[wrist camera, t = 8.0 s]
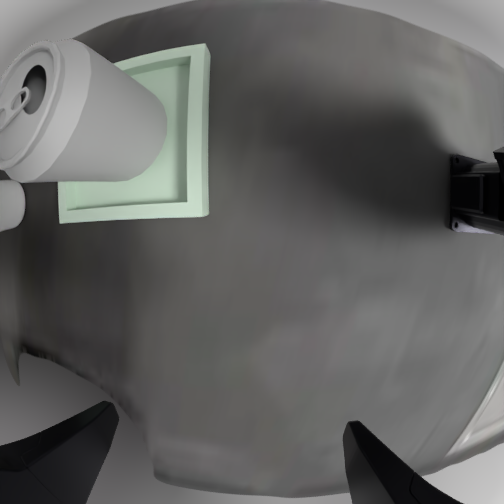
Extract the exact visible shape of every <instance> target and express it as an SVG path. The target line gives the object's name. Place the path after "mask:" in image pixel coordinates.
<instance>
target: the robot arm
mask: <svg viewBox="0 0 504 504" xmlns="http://www.w3.org/2000/svg"><path fill="white" fill-rule="evenodd" d="M493 153H494V157H495V159H497V162H496V163H486V162H483V161H479V160H476V159H472V158H468V157H464V156H461V155H452V156H451V159H450V161H451V210H450V229H451V230H453V231H458V232H474V233H488V234H494V233H497V234H500V235H504V147H502V148H500V149H498V150H495V151H493ZM455 158H456V161H457V162H455ZM455 223H456V226H455V227H454V224H455ZM118 422H119V416H118V413H117V411H116V409H115V406H114V404H113V403H111V402H107V401H102V402H100V403H98V404H96V405H94V406H92V407H91V408H89V409H87V410H85V411H83V412H81V413H79V414H77V415H75V416H73V417H71V418H69V419H67V420H64V421H62V422H60V423H59V424H56V425H54V426H52V427H50V428H48V429H46V430H43V431H41V432H39V433H37V434H34V435H32V436H30V437H27V438H24V439H21V440H18V441H15V442H12V443H9V444H5V445H1V446H0V504H86V502H87V500H88V497H89V495H90V493H91V490H92V488H93V485H94V483H95V481H96V479H97V476H98V474H99V472H100V469H101V467H102V465H103V463H104V460H105V458H106V456H107V454H108V452H109V449H110V447H111V444H112V440H113V437H114V434H115V431H116V428H117V425H118ZM343 446H344V457H345V469H346V476H347V480H348V485H349V490H350V494H351V499H352V504H463V503H460V502H459V501H457V500H455V499H453V498H452V497H450V496H448V495H447V494H445V493H443V492H442V491H440V490H438V489H437V488H435V487H434V486H432V485H431V484H429V483H428V482H427V481H426V480H424V479H423V478H422V477H421V476H420V475H418V474H417V473H416V472H414V470H412V469H411V468H410V467H409V466H408V465H407V464H406V463H404V462H403V461H402V460H401V459H400V458H399V457H398V456H397V455H396V454H394V453H393V452H392V451H391V450H390V449H389V448H388V447H387V446H386V445H385V444H383V443H382V442H381V441H380V440H379V439H378V438H377V437H376V436H375V435H374V434H373V433H372V432H371V431H369V430H368V429H367V428H366V427H365V426H364V425H363V424H362V423H361V422H360V421H349V422H348V423H347V425H346V428H345V431H344V434H343Z"/></svg>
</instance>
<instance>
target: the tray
mask: <svg viewBox="0 0 504 504" xmlns="http://www.w3.org/2000/svg"><path fill="white" fill-rule="evenodd" d="M210 60H211V54H210V52H209V50H208V48H207V46H206V44H205V43H204V44H197V45H190V46H184V47H178V48H173V49H168V50H163V51H158V52H154V53H150V54H146V55H142V56H138V57H134V58H131V59H127V60H124V61H120V62H117V63H114V65H115V66H117V67H118V68H119V69H121V70H122V71H124V72H125V73H126V74H128V75H129V76H130V77H132V78H133V79H135V80H136V81H137V82H139V83H140V84H141V85H143V86H144V87H145V88H147V89H148V90H149V91H151V92H152V93H153V94H154V95H156V96H157V98H158V99H159V100H160V102H161V103H162V104H163V106H164V109H165V113H166V116H167V135H166V138H165V141H164V144H163V147H162V150H161V151H160V153H159V154H158V156H157V157H156V159H155V161H154V162H153V164H152V165H151V166H149V167H148V168H147V169H146V170H145V171H144V172H143V173H142V174H140V175H138V176H136V177H134V178H132V179H130V180H127V181H118V182H96V181H69V182H58V203H59V221H60V224H61V223H74V222H89V221H106V220H125V219H148V218H177V217H203V216H206V215H209V193H208V123H209V84H210Z"/></svg>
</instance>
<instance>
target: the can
mask: <svg viewBox="0 0 504 504" xmlns="http://www.w3.org/2000/svg"><path fill="white" fill-rule="evenodd" d="M166 135H167V116H166V113H165V109H164V106H163V104H162V103H161V102H160V100H159V99H158V98H157V96H156V95H154V94H153V93H152V92H151V91H149V90H148V89H147V88H145V87H144V86H143V85H141V84H140V83H139V82H137V81H136V80H135V79H133V78H132V77H130V76H129V75H128V74H126V73H125V72H124V71H122V70H121V69H119V68H118V67H117V66H115V65H114V64H112V63H111V62H110V61H108V60H107V59H105V58H104V57H102V56H101V55H100V54H98V53H97V52H95V51H94V50H92V49H91V48H89V47H88V46H86V45H85V44H83V43H81V42H78V41H76V40H73V39H67V40H61V41H57V42H54V43H53V42H51V41H48V40H45V41H41V42H37V43H35V44H33V45H32V46H30V47H29V48H27V49H26V50H24V51H23V52H22V53H21V54H20V55H19V56H18V57H17V58H16V59H15V60H14V61H13V62H12V63H11V64H10V66H9V67H8V68H7V70H6V71H5V73H4V74H3V76H2V77H1V79H0V170H4V171H5V172H6V173H7V175H8V176H9V177H10V178H11V179H13V180H15V181H18V182H21V183H31V182H69V181H96V182H118V181H127V180H130V179H132V178H134V177H136V176H138V175H140V174H142V173H143V172H144V171H145V170H146V169H147V168H148V167H149V166H151V165H152V164H153V162H154V161H155V159H156V157H157V156H158V154H159V153H160V151H161V150H162V147H163V144H164V141H165V138H166Z"/></svg>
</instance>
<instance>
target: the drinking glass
mask: <svg viewBox="0 0 504 504" xmlns="http://www.w3.org/2000/svg"><path fill="white" fill-rule="evenodd" d="M24 212H25V194H24V190H23V188H22V186H21V184H20V183H19V182H18V181H15V180H0V232H1V231H4V230H8V229H12V228H15V227H17V226H18V225H19V224H20V223H21V221H22V219H23V216H24Z"/></svg>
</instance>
